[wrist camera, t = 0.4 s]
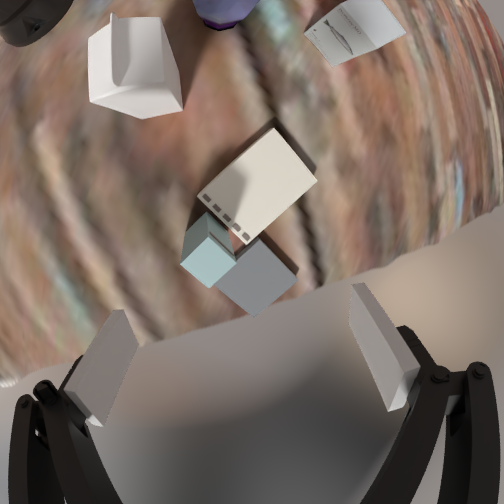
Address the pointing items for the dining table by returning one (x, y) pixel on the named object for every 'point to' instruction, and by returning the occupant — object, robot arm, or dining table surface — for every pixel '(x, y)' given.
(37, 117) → the dining table surface
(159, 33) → the milk
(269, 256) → the coaster
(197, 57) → the dining table surface
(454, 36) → the dining table surface
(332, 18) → the supplement box
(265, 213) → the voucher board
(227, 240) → the light blue tall block
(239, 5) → the potion bottle
